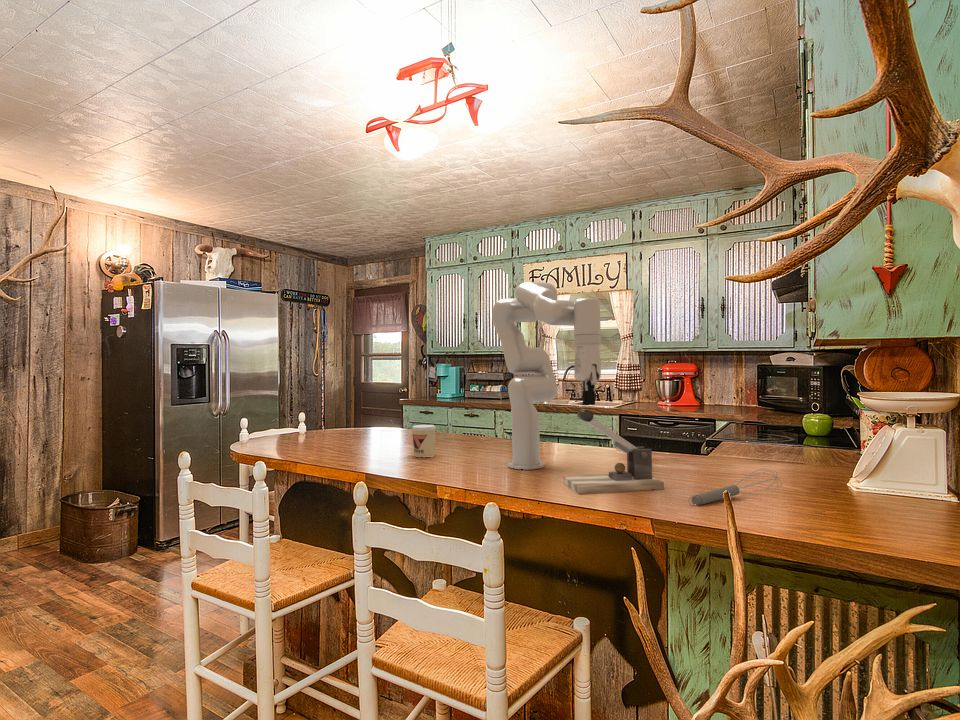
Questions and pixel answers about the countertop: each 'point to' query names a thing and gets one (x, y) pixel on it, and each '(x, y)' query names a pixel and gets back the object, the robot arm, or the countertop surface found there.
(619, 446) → the nutcracker lever
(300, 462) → the countertop surface
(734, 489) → the kitchen whisk
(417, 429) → the coffee cup
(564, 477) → the nutcracker base
